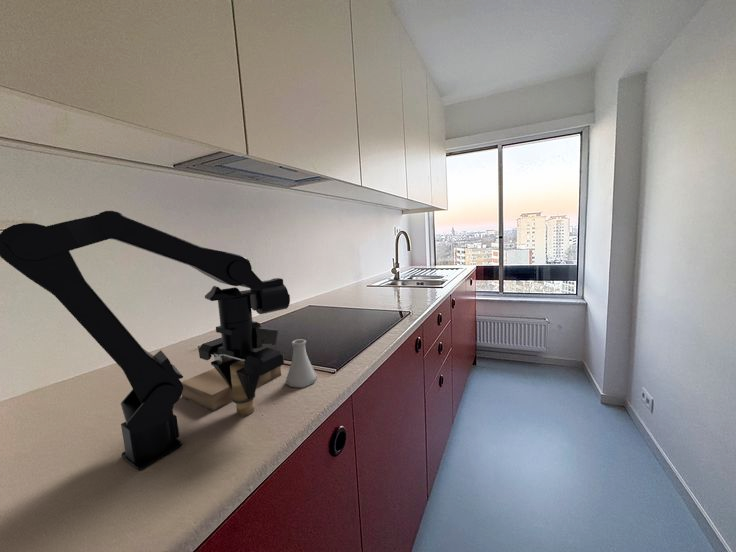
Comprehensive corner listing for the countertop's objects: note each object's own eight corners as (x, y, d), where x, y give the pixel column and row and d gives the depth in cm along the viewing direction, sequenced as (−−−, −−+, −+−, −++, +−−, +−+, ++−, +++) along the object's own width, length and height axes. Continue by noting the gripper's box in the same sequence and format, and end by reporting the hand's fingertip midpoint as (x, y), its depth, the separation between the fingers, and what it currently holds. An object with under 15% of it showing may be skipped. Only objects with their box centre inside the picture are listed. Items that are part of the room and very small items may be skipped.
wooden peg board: (213, 411, 62) (212, 395, 61) (182, 397, 68) (180, 382, 67) (281, 375, 77) (280, 361, 76) (250, 366, 83) (249, 353, 83)
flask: (279, 385, 72) (276, 344, 70) (299, 372, 78) (297, 334, 77) (303, 391, 68) (300, 348, 67) (322, 377, 75) (320, 338, 73)
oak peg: (243, 420, 58) (238, 370, 57) (229, 414, 60) (224, 366, 59) (261, 409, 62) (256, 362, 60) (247, 404, 64) (243, 358, 63)
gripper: (301, 314, 61) (306, 387, 63) (241, 306, 70) (248, 370, 72) (255, 330, 51) (263, 416, 53) (193, 318, 61) (202, 391, 63)
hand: (244, 395), depth 61 cm, fingers closed on oak peg, 4 cm apart
